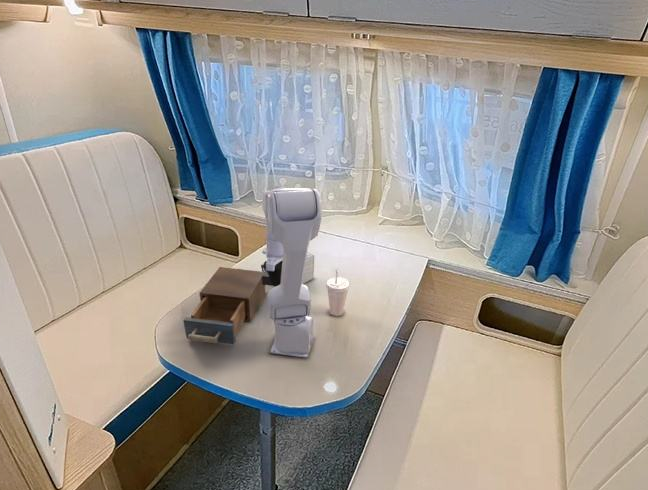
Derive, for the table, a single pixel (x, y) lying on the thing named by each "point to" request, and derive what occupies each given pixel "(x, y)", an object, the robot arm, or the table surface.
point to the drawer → (216, 320)
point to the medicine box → (308, 268)
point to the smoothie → (337, 294)
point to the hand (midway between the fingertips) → (278, 281)
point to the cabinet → (237, 287)
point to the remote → (266, 279)
